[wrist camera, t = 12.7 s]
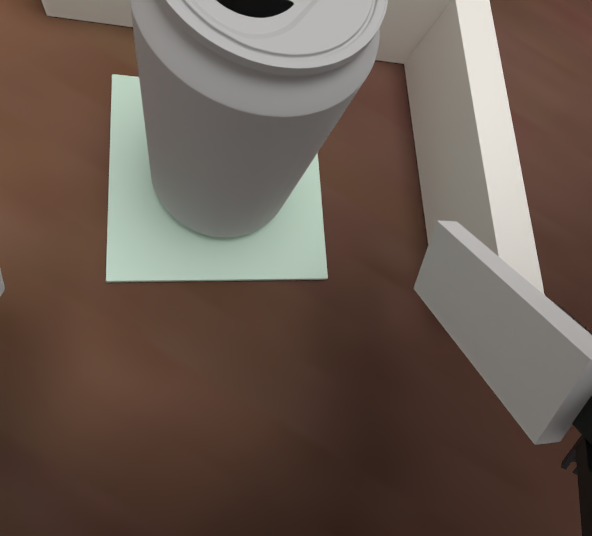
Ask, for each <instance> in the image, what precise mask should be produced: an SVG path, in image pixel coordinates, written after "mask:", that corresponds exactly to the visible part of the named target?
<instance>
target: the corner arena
mask: <svg viewBox="0 0 592 536" xmlns="http://www.w3.org/2000/svg"><path fill="white" fill-rule="evenodd" d="M41 1H42V3H43V6H44V9H45V12H46V14H47V16H53V17H60V18H67V19H75V20H82V21H90V22H97V23H104V24H112V25H119V26H127V27H133V23H132V15H131V6H130V0H41ZM375 60H379V61H386V62H394V63H401V64H404V67H405V75H406V82H407V90H408V97H409V105H410V112H411V120H412V127H413V135H414V142H415V150H416V157H417V165H418V172H419V180H420V187H421V195H422V202H423V210H424V217H425V225H426V232H427V240H428V245H429V242H430V239H431V236H432V234H433V231H434V228H435V225H436V222H437V221H457V222H458V223H459V224H461V225H462V226H463V227H464V228H465V229H466V230H468V231H469V232H470V233H471V234H472V235H474V236H475V237H476V238H477V239H478V240H480V241H481V242H482V243H483V244H484V245H485V246H487V247H488V248H489V249H490V250H491V251H493V252H494V253H495V254H496V255H497V256H499V257H500V258H501V259H502V260H503V261H504V262H506V263H507V264H508V265H509V266H510V267H512V268H513V269H514V270H515V271H516V272H517V273H519V274H520V275H521V276H522V277H523V278H525V279H526V280H527V281H528V282H529V283H531V284H532V285H533V286H534V287H535V288H536V289H538V290H539V291H540V292H541V293H542V294H544V289H543V284H542V279H541V273H540V268H539V263H538V257H537V252H536V247H535V241H534V236H533V231H532V225H531V220H530V215H529V209H528V204H527V199H526V193H525V188H524V183H523V177H522V172H521V167H520V161H519V156H518V151H517V145H516V140H515V135H514V129H513V124H512V119H511V113H510V108H509V103H508V97H507V92H506V87H505V81H504V76H503V71H502V65H501V60H500V55H499V50H498V44H497V39H496V34H495V28H494V23H493V18H492V12H491V7H490V2H489V0H388V4H387V9H386V13H385V16H384V19H383V21H382V23H381V26H380V39H379V47H378V52H377V56H376V59H375ZM544 295H545V294H544Z"/></svg>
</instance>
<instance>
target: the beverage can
mask: <svg viewBox="0 0 592 536" xmlns="http://www.w3.org/2000/svg"><path fill="white" fill-rule="evenodd" d="M387 4H388V0H130V6H131V15H132V23H133V31H134V40H135V48H136V56H137V64H138V73H139V81H140V89H141V97H142V106H143V114H144V122H145V130H146V139H147V147H148V155H149V163H150V172H151V179H152V184H153V187H154V190H155V192H156V195H157V197H158V198H159V200H160V202H161V203H162V205H163V206H164V208H165V209H166V210H167V211H168V212H169V213H170V214H171V215H172V216H173V217H174V218H175V219H176V220H177V221H179V222H180V223H181V224H183V225H184V226H186V227H188V228H190V229H192V230H194V231H196V232H199V233H202V234H205V235H209V236H214V237H237V236H242V235H246V234H249V233H252V232H254V231H256V230H258V229H260V228H262V227H263V226H265V225H266V224H267V223H269V222H270V221H271V220H272V219H273V218H274V217H275V216H276V215H277V214H278V212H279V211H280V209H281V208H282V206H283V205H284V203H285V202H286V200H287V199H288V197H289V196H290V194H291V193H292V191H293V190H294V188H295V186H296V185H297V183H298V182H299V180H300V179H301V177H302V176H303V174H304V173H305V171H306V170H307V168H308V167H309V165H310V163H311V162H312V160H313V159H314V157H315V156H316V154H317V153H318V151H319V150H320V148H321V147H322V145H323V144H324V142H325V141H326V139H327V137H328V136H329V134H330V133H331V131H332V130H333V128H334V127H335V125H336V124H337V122H338V121H339V119H340V118H341V116H342V115H343V113H344V111H345V110H346V108H347V107H348V105H349V104H350V102H351V101H352V99H353V98H354V96H355V95H356V93H357V92H358V90H359V89H360V87H361V85H362V84H363V82H364V81H365V79H366V78H367V76H368V74H369V73H370V71H371V69H372V67H373V64H374V62H375V59H376V56H377V52H378V47H379V39H380V26H381V23H382V21H383V19H384V16H385V13H386V9H387Z"/></svg>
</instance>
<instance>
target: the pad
mask: <svg viewBox="0 0 592 536" xmlns="http://www.w3.org/2000/svg"><path fill="white" fill-rule="evenodd" d="M326 279H328V275H327V263H326V251H325V238H324V226H323V213H322V201H321V189H320V176H319V164H318V153H317V154H316V156H315V157H314V159H313V160H312V162H311V163H310V165H309V167H308V168H307V170H306V171H305V173H304V174H303V176H302V177H301V179H300V180H299V182H298V183H297V185H296V186H295V188H294V190H293V191H292V193H291V194H290V196H289V197H288V199H287V200H286V202H285V203H284V205H283V206H282V208H281V209H280V211H279V212H278V214H277V215H276V216H275V217H274V218H273V219H272V220H271V221H270V222H269V223H267V224H266V225H265V226H263V227H262V228H260V229H258V230H256V231H254V232H252V233H249V234H246V235H242V236H237V237H214V236H209V235H205V234H202V233H199V232H196V231H194V230H192V229H190V228H188V227H186V226H184V225H183V224H181V223H180V222H179V221H177V220H176V219H175V218H174V217H173V216H172V215H171V214H170V213H169V212H168V211H167V210H166V209H165V208H164V206H163V205H162V203H161V202H160V200H159V198H158V197H157V195H156V192H155V190H154V187H153V184H152V179H151V172H150V163H149V155H148V147H147V139H146V130H145V122H144V114H143V106H142V97H141V89H140V81H139V77H134V76H124V75H115V74H112V96H111V129H110V162H109V195H108V228H107V262H106V282H174V281H254V280H326Z"/></svg>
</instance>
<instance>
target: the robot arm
mask: <svg viewBox="0 0 592 536" xmlns="http://www.w3.org/2000/svg"><path fill="white" fill-rule="evenodd" d="M413 289H414V290H415V291H416V292H417V294H418V295H419V296H420V298H421V299H422V300H423V301H424V303H425V304H426V305H427V307H428V308H429V309H430V310H431V312H432V313H433V314H434V316H435V317H436V318H437V320H438V321H439V322H440V323H441V325H442V326H443V327H444V329H445V330H446V331H447V332H448V334H449V335H450V336H451V338H452V339H453V340H454V341H455V343H456V344H457V345H458V347H459V348H460V349H461V350H462V352H463V353H464V354H465V356H466V357H467V358H468V359H469V361H470V362H471V363H472V365H473V366H474V367H475V368H476V370H477V371H478V372H479V374H480V375H481V376H482V378H483V379H484V380H485V381H486V383H487V384H488V385H489V387H490V388H491V389H492V390H493V392H494V393H495V394H496V396H497V397H498V398H499V399H500V401H501V402H502V403H503V405H504V406H505V407H506V408H507V410H508V411H509V412H510V414H511V415H512V416H513V417H514V419H515V420H516V421H517V423H518V424H519V425H520V426H521V428H522V429H523V430H524V432H525V433H526V434H527V435H528V437H529V438H530V439H531V441H532V442H533V443H534V445H537V444H545V443H554V442H560V441H561V440H562V439H563V437H564V436H565V434H566V433H567V431H568V430H569V429H570V427H571V426H572V424H573V425H574V426H575V427H576V428H577V429H578V431H579V432H580V433H581V434H582V435H581V437H580V438H579V439H578V441H577V442H576V444H575V445H574V446H573V448H572V449H571V450H570V452H569V453H568V454H567V456H566V457H565V458H564V460H563V461H562V465H561V468H563V469H567V467H568V466H569V465H570V463H571V462H577V467H576V468H575V470H574V471H573V473H574V474H576V475H578V487H579V500H580V513H581V526H582V536H592V333H591V332H590V331H586V328H585V327H584V326H583V325H582V324H580V323H579V322H578V321H574V318H573V317H572V316H571V315H570V314H568V313H567V312H566V311H565V310H564V309H562V308H561V307H560V306H558V305H557V304H555V303H553V302H552V301H551V300H550V299H548V298H547V297H546V296H545V295H544V294H542V293H541V292H540V291H539V290H538V289H536V288H535V287H534V286H533V285H532V284H531V283H529V282H528V281H527V280H526V279H525V278H523V277H522V276H521V275H520V274H519V273H517V272H516V271H515V270H514V269H513V268H512V267H510V266H509V265H508V264H507V263H506V262H504V261H503V260H502V259H501V258H500V257H499V256H497V255H496V254H495V253H494V252H493V251H491V250H490V249H489V248H488V247H487V246H485V245H484V244H483V243H482V242H481V241H480V240H478V239H477V238H476V237H475V236H474V235H472V234H471V233H470V232H469V231H468V230H466V229H465V228H464V227H463V226H462V225H461V224H459V223H458V222H457V221H437V222H436V225H435V228H434V231H433V234H432V236H431V239H430V242H429V245H428V248H427V251H426V254H425V257H424V260H423V262H422V265H421V268H420V271H419V274H418V277H417V280H416V283H415V286H414V288H413ZM4 290H5V287H4V283H3V279H2V274H1V270H0V297H1V295H2V293H3V292H4Z"/></svg>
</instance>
